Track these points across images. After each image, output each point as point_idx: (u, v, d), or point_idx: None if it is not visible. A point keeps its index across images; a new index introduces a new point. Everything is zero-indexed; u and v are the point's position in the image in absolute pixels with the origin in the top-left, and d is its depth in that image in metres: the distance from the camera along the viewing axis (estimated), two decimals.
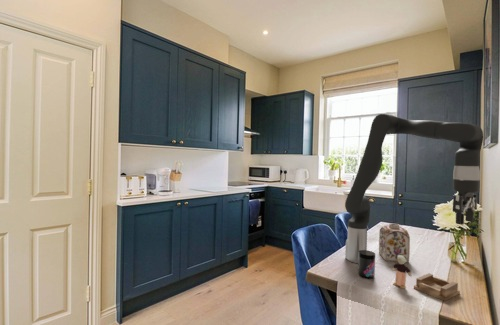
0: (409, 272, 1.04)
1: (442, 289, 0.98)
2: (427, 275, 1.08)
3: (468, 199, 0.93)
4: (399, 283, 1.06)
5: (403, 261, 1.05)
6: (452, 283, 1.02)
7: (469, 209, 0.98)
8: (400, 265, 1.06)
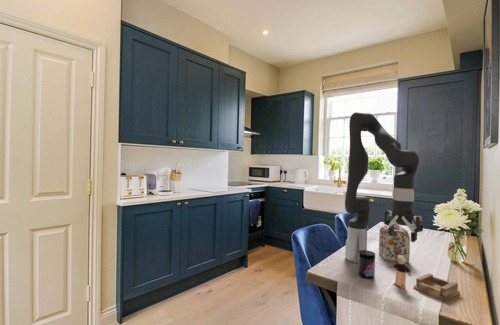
0: (409, 272, 1.04)
1: (442, 289, 0.98)
2: (427, 275, 1.08)
3: None
4: (399, 283, 1.06)
5: (403, 261, 1.05)
6: (452, 283, 1.02)
7: (392, 225, 1.10)
8: (400, 265, 1.06)
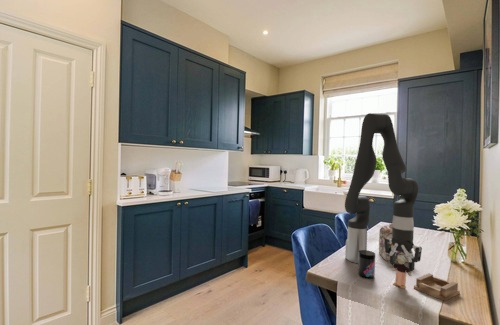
0: (409, 272, 1.04)
1: (442, 289, 0.98)
2: (427, 275, 1.08)
3: None
4: (399, 283, 1.06)
5: (403, 261, 1.05)
6: (452, 283, 1.02)
7: None
8: (400, 265, 1.06)
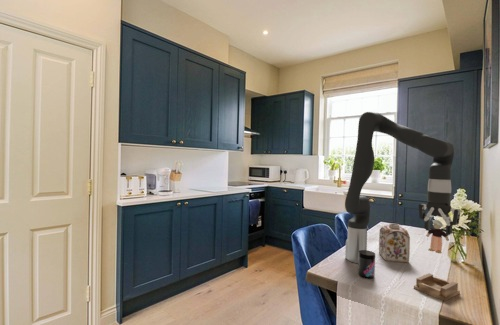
0: (446, 236, 1.01)
1: (442, 289, 0.98)
2: (427, 275, 1.08)
3: None
4: (435, 248, 1.03)
5: (439, 225, 1.02)
6: (452, 283, 1.02)
7: (428, 219, 1.06)
8: (436, 230, 1.03)
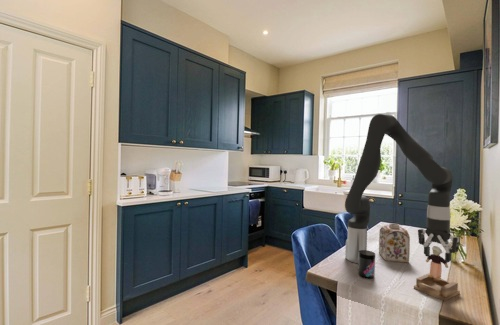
0: (445, 263, 1.01)
1: (442, 289, 0.98)
2: (427, 275, 1.08)
3: None
4: (435, 275, 1.03)
5: (439, 252, 1.02)
6: (452, 283, 1.02)
7: (427, 244, 1.06)
8: (435, 256, 1.03)
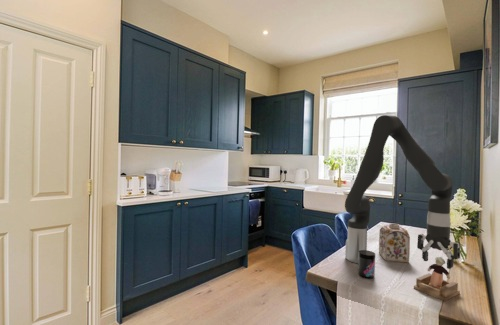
0: (447, 274, 1.01)
1: (442, 289, 0.98)
2: (427, 275, 1.08)
3: None
4: (435, 284, 1.02)
5: (442, 263, 1.02)
6: (452, 283, 1.02)
7: None
8: (438, 266, 1.03)
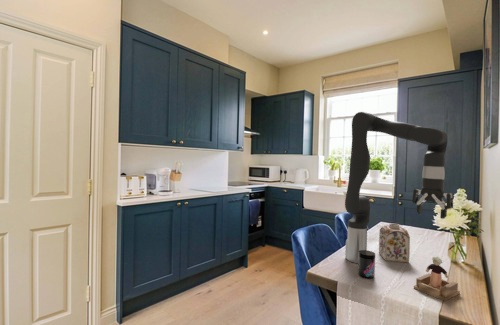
0: (445, 273, 1.01)
1: (442, 289, 0.98)
2: (427, 275, 1.08)
3: None
4: (435, 285, 1.03)
5: (439, 262, 1.02)
6: (452, 283, 1.02)
7: None
8: (435, 266, 1.03)
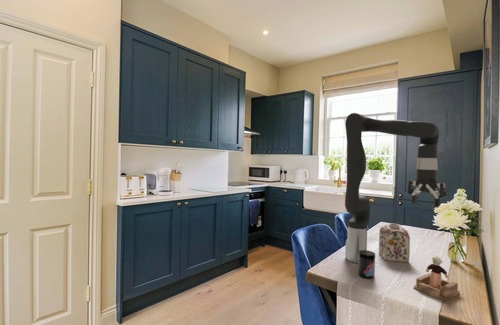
0: (445, 273, 1.01)
1: (442, 289, 0.98)
2: (427, 275, 1.08)
3: None
4: (435, 285, 1.03)
5: (439, 262, 1.02)
6: (452, 283, 1.02)
7: (415, 194, 1.17)
8: (435, 266, 1.03)
